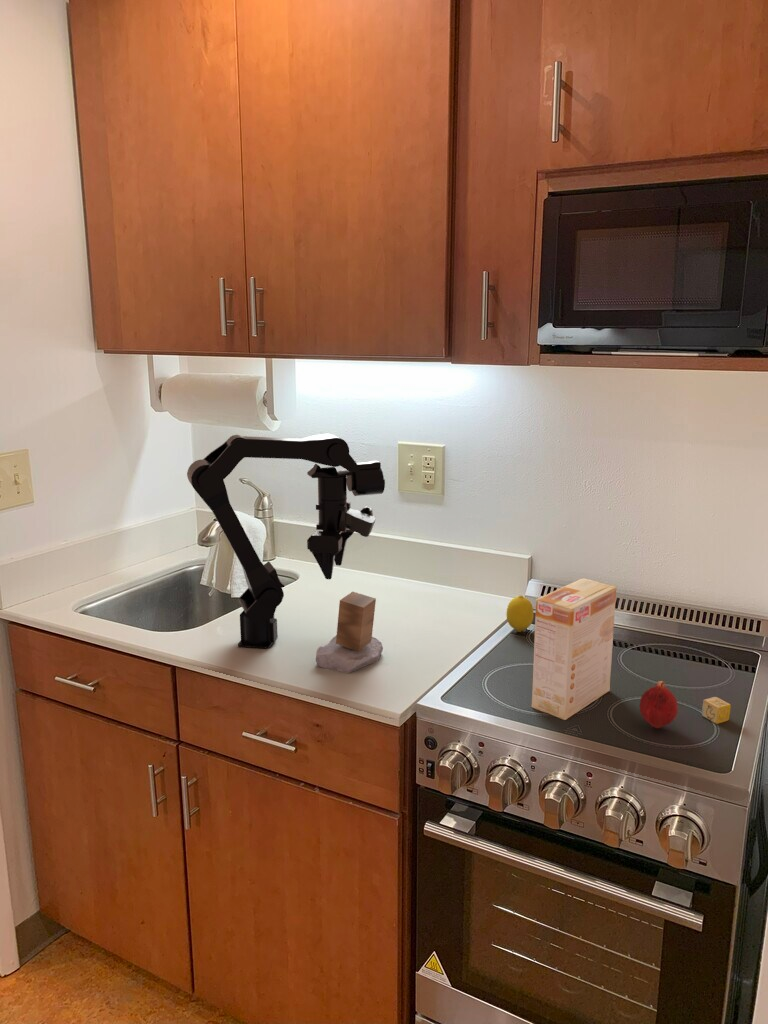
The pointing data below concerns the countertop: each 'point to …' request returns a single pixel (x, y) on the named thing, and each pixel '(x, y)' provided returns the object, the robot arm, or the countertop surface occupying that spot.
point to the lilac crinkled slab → (347, 656)
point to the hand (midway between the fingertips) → (333, 572)
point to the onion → (658, 706)
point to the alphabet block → (716, 710)
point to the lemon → (520, 613)
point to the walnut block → (355, 621)
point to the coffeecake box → (573, 647)
